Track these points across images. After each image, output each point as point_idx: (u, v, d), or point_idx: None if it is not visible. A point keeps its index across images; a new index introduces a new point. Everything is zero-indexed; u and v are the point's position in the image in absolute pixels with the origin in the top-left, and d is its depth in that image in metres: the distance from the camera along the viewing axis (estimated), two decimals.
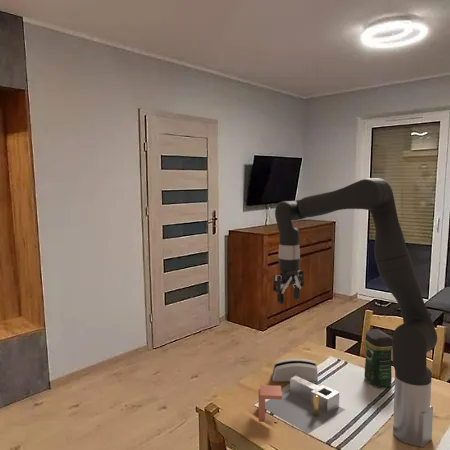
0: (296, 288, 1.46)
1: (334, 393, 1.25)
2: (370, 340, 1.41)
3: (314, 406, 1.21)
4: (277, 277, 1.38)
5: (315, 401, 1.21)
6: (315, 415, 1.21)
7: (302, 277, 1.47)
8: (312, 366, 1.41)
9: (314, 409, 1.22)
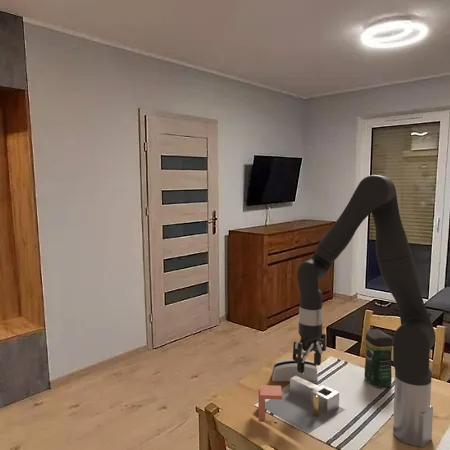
0: (317, 353, 1.33)
1: (334, 393, 1.25)
2: (370, 340, 1.41)
3: (314, 406, 1.21)
4: (297, 345, 1.25)
5: (315, 401, 1.21)
6: (315, 415, 1.21)
7: (324, 341, 1.33)
8: (312, 366, 1.41)
9: (314, 409, 1.22)
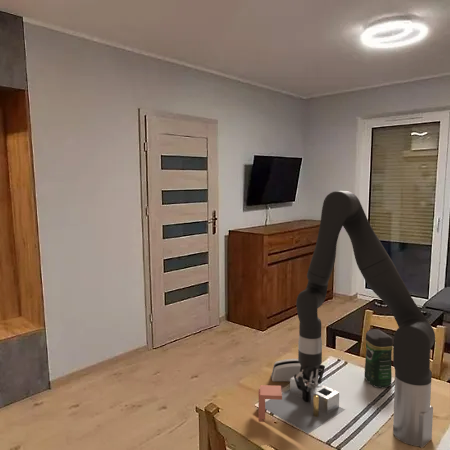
0: None
1: (334, 393, 1.25)
2: (370, 340, 1.41)
3: (314, 406, 1.21)
4: (298, 379, 1.26)
5: (315, 401, 1.21)
6: (315, 415, 1.21)
7: (321, 373, 1.33)
8: None
9: (314, 409, 1.22)
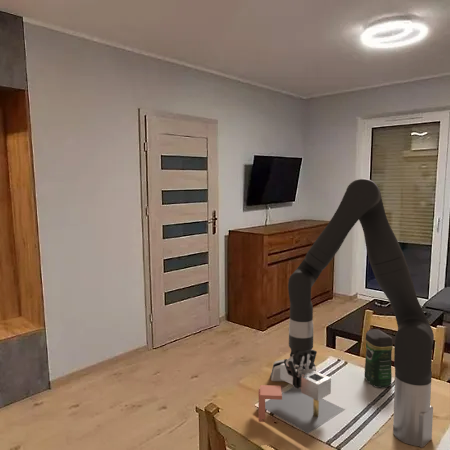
0: None
1: (325, 378, 1.20)
2: (370, 340, 1.41)
3: (314, 406, 1.21)
4: (288, 364, 1.21)
5: (315, 401, 1.21)
6: (315, 415, 1.21)
7: (313, 358, 1.28)
8: None
9: (314, 409, 1.22)
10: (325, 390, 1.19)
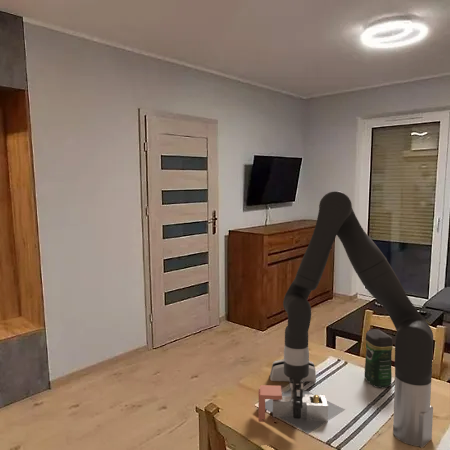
0: None
1: (323, 397, 1.23)
2: (370, 340, 1.41)
3: None
4: (300, 392, 1.15)
5: (315, 401, 1.21)
6: None
7: None
8: (310, 366, 1.41)
9: None
10: None
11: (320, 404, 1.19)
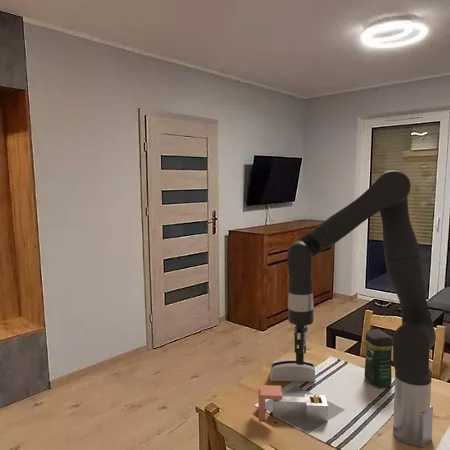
0: None
1: (323, 397, 1.23)
2: (370, 340, 1.41)
3: None
4: (300, 335, 1.15)
5: (315, 401, 1.21)
6: None
7: (306, 326, 1.27)
8: (309, 366, 1.41)
9: None
10: None
11: (320, 404, 1.19)
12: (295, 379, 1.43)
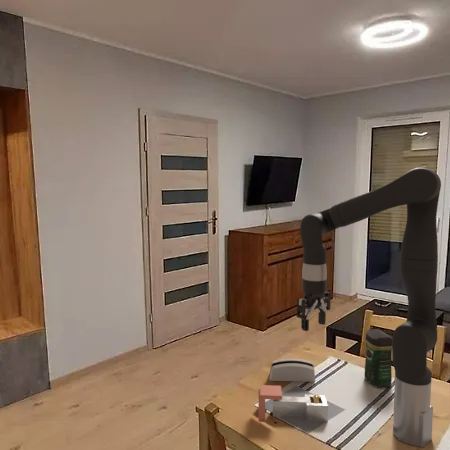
0: (321, 312, 1.29)
1: (323, 397, 1.23)
2: (370, 340, 1.41)
3: None
4: (301, 301, 1.21)
5: (315, 401, 1.21)
6: None
7: (328, 300, 1.29)
8: (309, 367, 1.41)
9: None
10: None
11: (320, 404, 1.19)
12: (295, 379, 1.43)
